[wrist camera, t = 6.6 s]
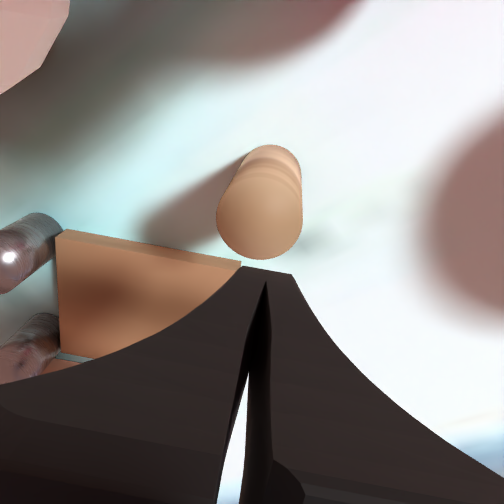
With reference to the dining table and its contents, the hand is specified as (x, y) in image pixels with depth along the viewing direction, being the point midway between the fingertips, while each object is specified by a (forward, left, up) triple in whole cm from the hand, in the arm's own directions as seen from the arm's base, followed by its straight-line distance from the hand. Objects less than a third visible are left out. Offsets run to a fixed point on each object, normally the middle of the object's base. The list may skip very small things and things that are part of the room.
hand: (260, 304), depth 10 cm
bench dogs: (-7, +11, -10) cm, 17 cm away
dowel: (+1, 0, -10) cm, 10 cm away
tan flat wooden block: (-7, +6, -10) cm, 14 cm away
